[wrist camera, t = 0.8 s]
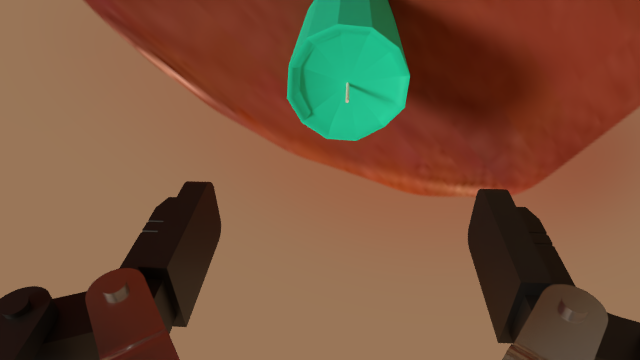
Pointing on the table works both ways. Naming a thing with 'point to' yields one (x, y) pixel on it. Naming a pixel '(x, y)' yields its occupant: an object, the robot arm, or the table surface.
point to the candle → (348, 69)
